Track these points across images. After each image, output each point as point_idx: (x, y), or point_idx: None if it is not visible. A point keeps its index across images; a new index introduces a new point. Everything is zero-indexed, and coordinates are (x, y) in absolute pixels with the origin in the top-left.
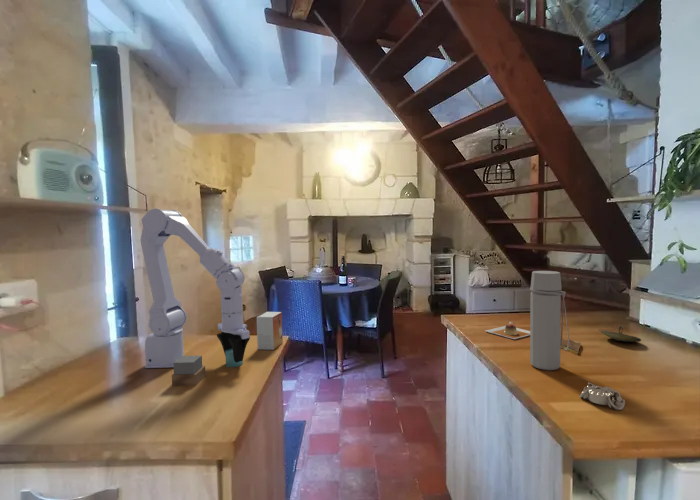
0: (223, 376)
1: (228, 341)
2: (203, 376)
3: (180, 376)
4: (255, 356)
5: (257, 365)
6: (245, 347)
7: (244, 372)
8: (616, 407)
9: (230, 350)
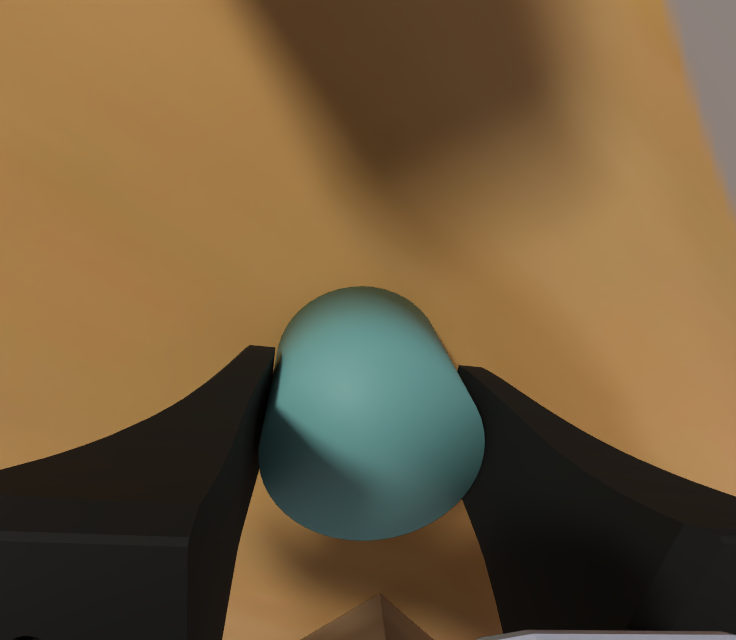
0: None
1: (229, 553)
2: (405, 624)
3: None
4: (353, 51)
5: (595, 258)
6: (601, 446)
7: (595, 422)
8: None
9: (335, 480)
